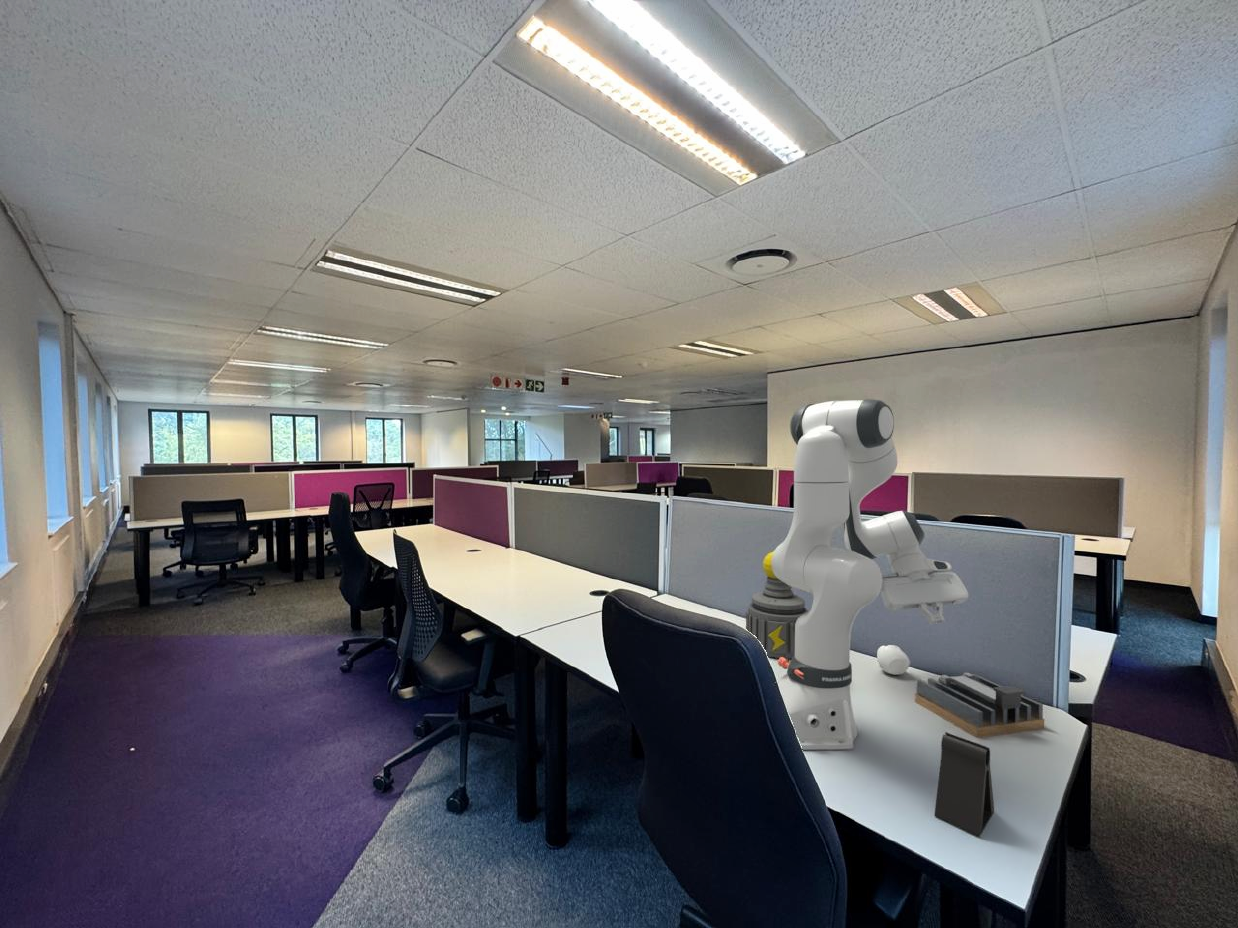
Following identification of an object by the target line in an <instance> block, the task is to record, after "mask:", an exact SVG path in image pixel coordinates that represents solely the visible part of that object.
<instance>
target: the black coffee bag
mask: <svg viewBox="0 0 1238 928" xmlns="http://www.w3.org/2000/svg"><path fill="white" fill-rule="evenodd" d="M944 732H945V731H944ZM940 745H941V747H940V748H941V756H940V762H939V763H940V765H939V772H938V782H937V790H936V798H935V799H936V800H935V808H934V817H935V818H938V819H939V820H942V821H943V822H946V823H948V824H950V825H952V826H954V827H957V828H958V829H960V830H962V831H965V832H967V833H969V834H971V835H973V836H975V837H977V838H980V837H981V835H982V834H983V832H984V830H985V829H986V827H987V825H988V823H990V820H991V818H993V817H992V816H993V815H994V813H995V802H994V793H993V783H992V782H993V781H992V773H991V772H992V771H991V749H990V747H988V746H985V745H982V744H980V743H977V742H974V741H971V740H969V739H966V738H964V737H961V736H958V735H955V734H952V733H950V732H949V733H948V732H945V733H943V734H942V738H941V744H940Z"/></svg>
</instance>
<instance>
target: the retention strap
mask: <svg viewBox="0 0 1238 928" xmlns="http://www.w3.org/2000/svg"><path fill="white" fill-rule="evenodd" d="M951 682H952V683H954V684H956V685H958V686H960V687H962V688H964V689H966V690H968V691H970V692H972V693H974V694H976V695H978V696H980V697H982V698H984V699H986V700H988V701H990V702H992V703H994V704H996V691H994V690H993V689H990V688H988V687H986V686H984V685H982V684H980V683H978V682H976V681H974V680H972V679H970V678H968V677H966V676H961V675H959V676H954V677H951Z"/></svg>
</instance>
